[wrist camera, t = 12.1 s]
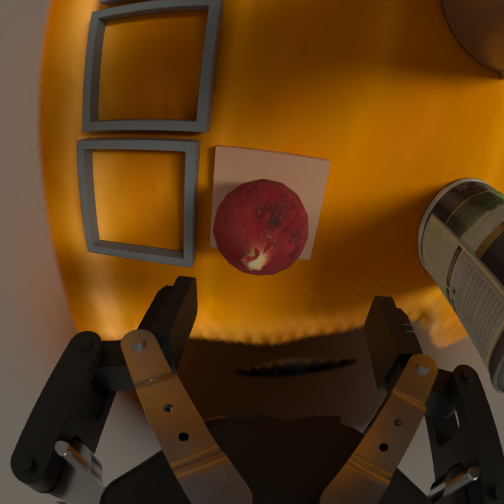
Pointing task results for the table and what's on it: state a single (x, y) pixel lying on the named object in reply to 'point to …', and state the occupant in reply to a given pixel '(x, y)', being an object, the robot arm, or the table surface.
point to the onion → (261, 227)
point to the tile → (276, 169)
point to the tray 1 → (113, 1)
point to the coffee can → (470, 263)
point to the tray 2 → (214, 4)
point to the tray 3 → (190, 199)
